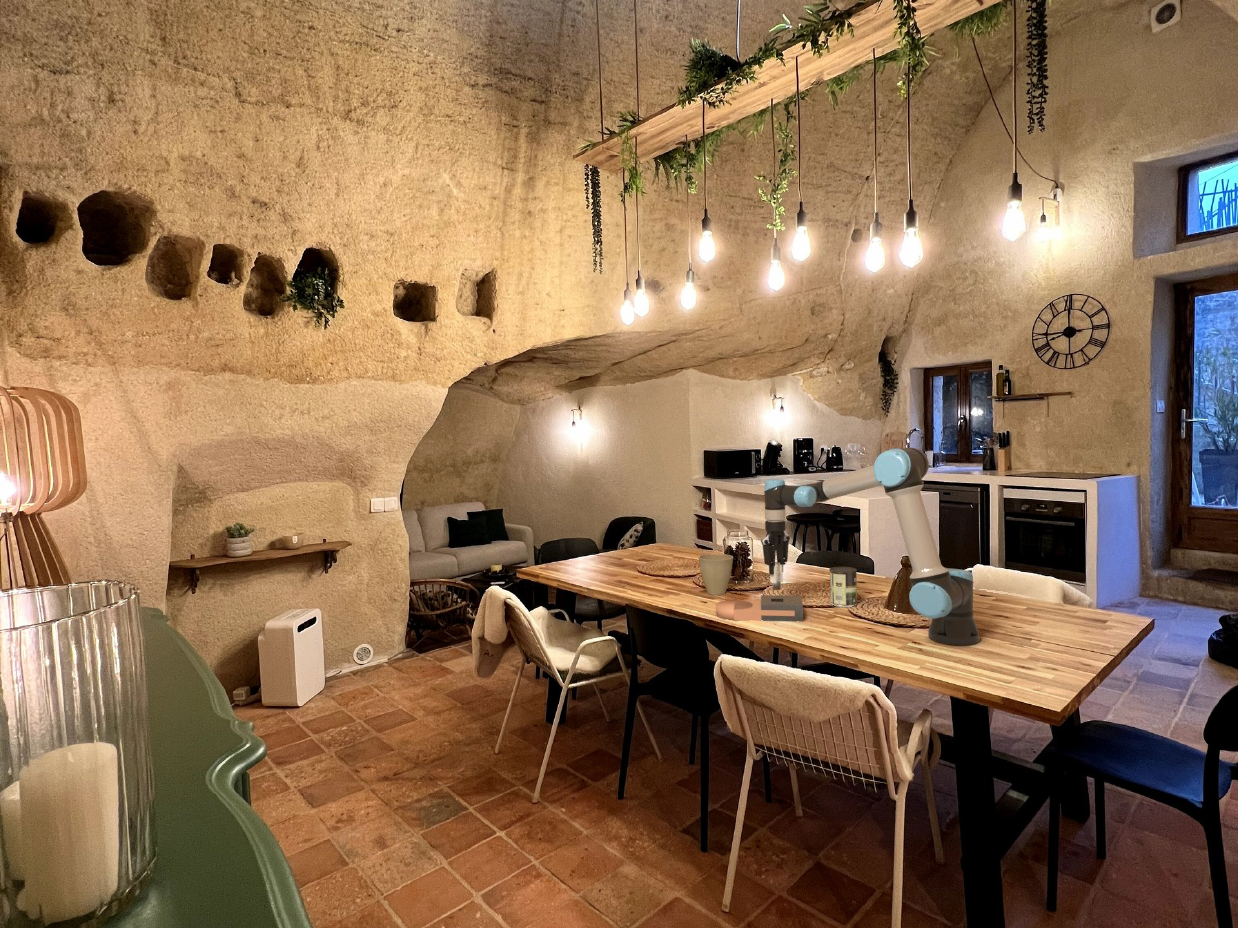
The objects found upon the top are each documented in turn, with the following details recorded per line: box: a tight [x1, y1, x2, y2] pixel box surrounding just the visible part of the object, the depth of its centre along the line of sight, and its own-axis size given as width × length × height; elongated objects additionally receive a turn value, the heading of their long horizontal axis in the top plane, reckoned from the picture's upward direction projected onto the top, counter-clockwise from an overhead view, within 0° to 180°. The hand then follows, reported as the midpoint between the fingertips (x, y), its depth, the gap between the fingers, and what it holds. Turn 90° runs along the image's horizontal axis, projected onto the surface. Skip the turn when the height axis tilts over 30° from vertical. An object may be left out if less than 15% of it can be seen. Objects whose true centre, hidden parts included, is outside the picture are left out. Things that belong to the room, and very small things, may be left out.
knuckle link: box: [715, 599, 795, 622], centre depth 263 cm, size 14×29×4 cm, turn 78°
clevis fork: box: [760, 594, 804, 623], centre depth 261 cm, size 14×15×6 cm
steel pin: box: [771, 561, 782, 591], centre depth 261 cm, size 3×3×10 cm
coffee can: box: [829, 566, 858, 608], centre depth 274 cm, size 10×10×14 cm
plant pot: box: [698, 553, 734, 596], centre depth 299 cm, size 15×15×16 cm
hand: (776, 582), depth 261 cm, fingers closed on steel pin, 2 cm apart
